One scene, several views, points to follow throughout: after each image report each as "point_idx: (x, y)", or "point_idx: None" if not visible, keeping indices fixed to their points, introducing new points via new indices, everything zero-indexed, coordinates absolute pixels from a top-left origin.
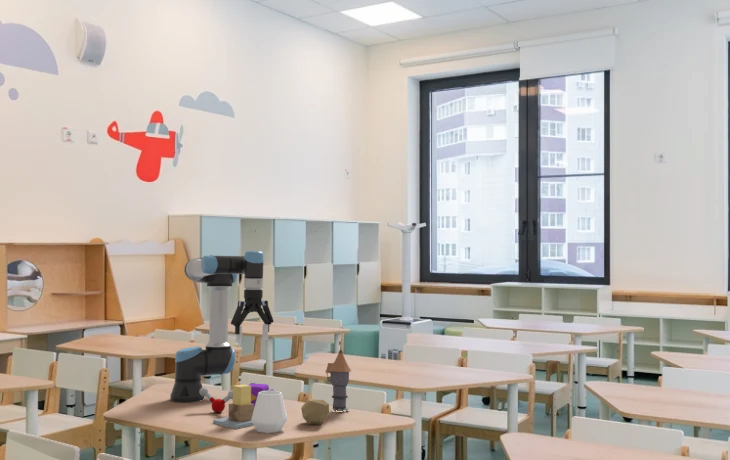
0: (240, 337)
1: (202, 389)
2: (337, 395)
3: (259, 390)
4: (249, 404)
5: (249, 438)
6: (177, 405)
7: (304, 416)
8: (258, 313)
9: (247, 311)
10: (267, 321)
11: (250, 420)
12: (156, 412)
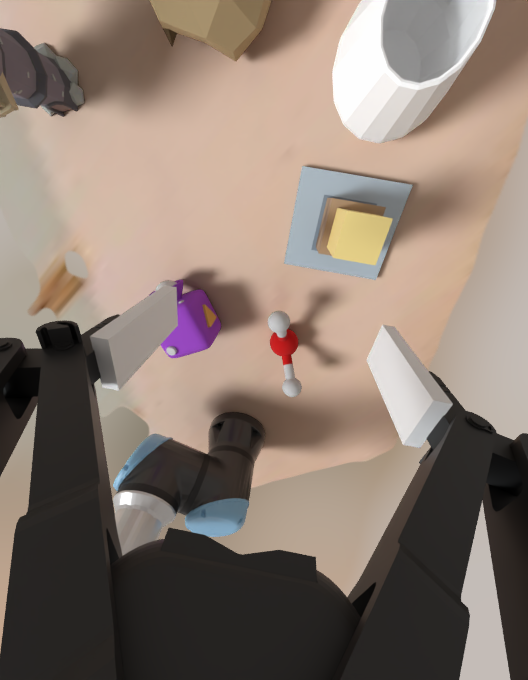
0: (407, 344)
1: (299, 389)
2: (27, 57)
3: (192, 307)
4: (346, 204)
5: (514, 41)
6: (281, 418)
7: (269, 4)
8: (112, 507)
9: (457, 600)
10: (74, 359)
11: (340, 197)
12: (344, 411)
